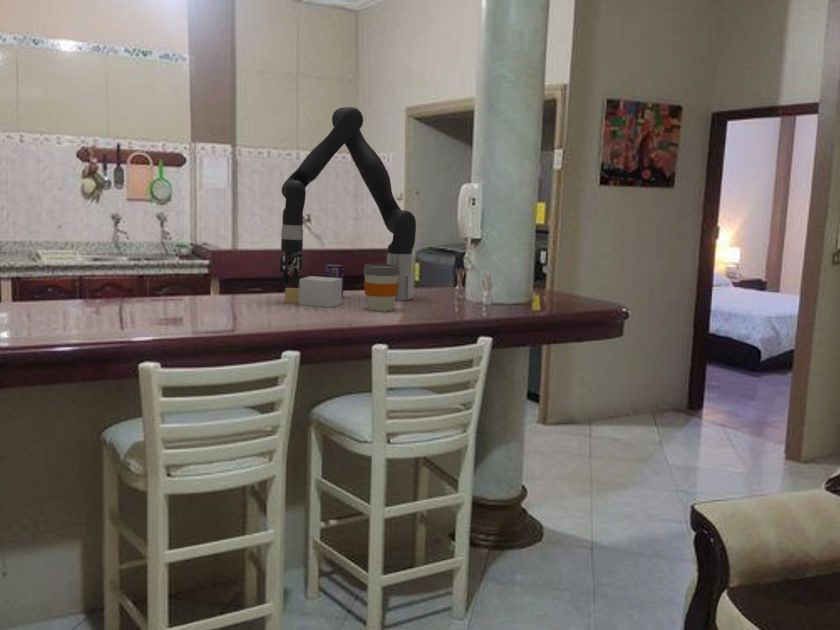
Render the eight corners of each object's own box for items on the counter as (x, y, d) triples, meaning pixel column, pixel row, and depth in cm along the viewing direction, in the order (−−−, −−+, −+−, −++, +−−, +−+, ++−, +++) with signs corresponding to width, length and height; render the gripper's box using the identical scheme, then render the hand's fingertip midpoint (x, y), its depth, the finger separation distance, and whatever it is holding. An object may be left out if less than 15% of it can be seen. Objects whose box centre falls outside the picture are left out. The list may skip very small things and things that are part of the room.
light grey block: (341, 303, 281) (342, 278, 280) (331, 307, 272) (332, 281, 270) (308, 300, 284) (308, 276, 283) (297, 304, 275) (297, 278, 273)
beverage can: (346, 297, 298) (347, 265, 296) (335, 298, 292) (335, 266, 290) (332, 295, 301) (332, 263, 299) (320, 296, 295) (320, 264, 293)
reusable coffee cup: (398, 312, 267) (399, 268, 264) (361, 311, 267) (362, 266, 264) (398, 306, 279) (400, 264, 277) (363, 305, 279) (364, 263, 277)
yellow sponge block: (313, 303, 279) (313, 289, 279) (311, 304, 278) (311, 290, 277) (287, 301, 282) (287, 287, 281) (284, 302, 280) (285, 288, 279)
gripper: (294, 239, 269) (292, 286, 271) (309, 237, 283) (308, 282, 285) (273, 238, 271) (272, 284, 273) (290, 236, 284) (288, 281, 287)
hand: (290, 283), depth 279 cm, fingers open, 8 cm apart
